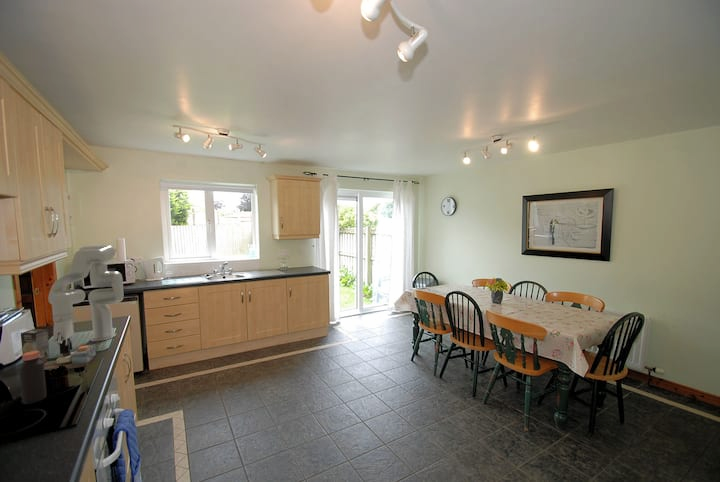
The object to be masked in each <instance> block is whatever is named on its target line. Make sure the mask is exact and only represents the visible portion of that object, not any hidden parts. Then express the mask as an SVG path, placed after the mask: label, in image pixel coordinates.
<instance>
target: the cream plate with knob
mask: <svg viewBox="0 0 720 482" xmlns="http://www.w3.org/2000/svg"><path fill="white" fill-rule="evenodd" d="M63 342H65V341H63ZM67 345H68V348H69V352H68V353H64V354H60V356H59V357H57V358H56V359H55V360H57V364H60V363H66V362H70V361H71V360H72V358H71V355H72V354H73V353H74V352H75V351H71V350H70V341H69V339H67Z"/></svg>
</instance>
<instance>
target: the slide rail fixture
mask: <svg viewBox="0 0 720 482" xmlns="http://www.w3.org/2000/svg"><path fill="white" fill-rule="evenodd" d="M88 345H89V349H88V350H83V351H78V348H77V349H76V350H75V351H73V352H74V353H73V354H72V355H71V358H72V360H71V361H70V362H66V363H60V364H57V360H56V359H55V360H49V361H47V359H46V355H42V356H40V358H39V360H41V361H43V362H44V370H52V369H57V368H59V366H62V365H63V366H65V367H66V368H67V369H66V370H70V369H75V368H82V367H86V366H88V365H89V364H90V363H91V362H92V361H93V359H94V358H96V355H97V348H96V343H95V344H94V343H93V344H88Z"/></svg>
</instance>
